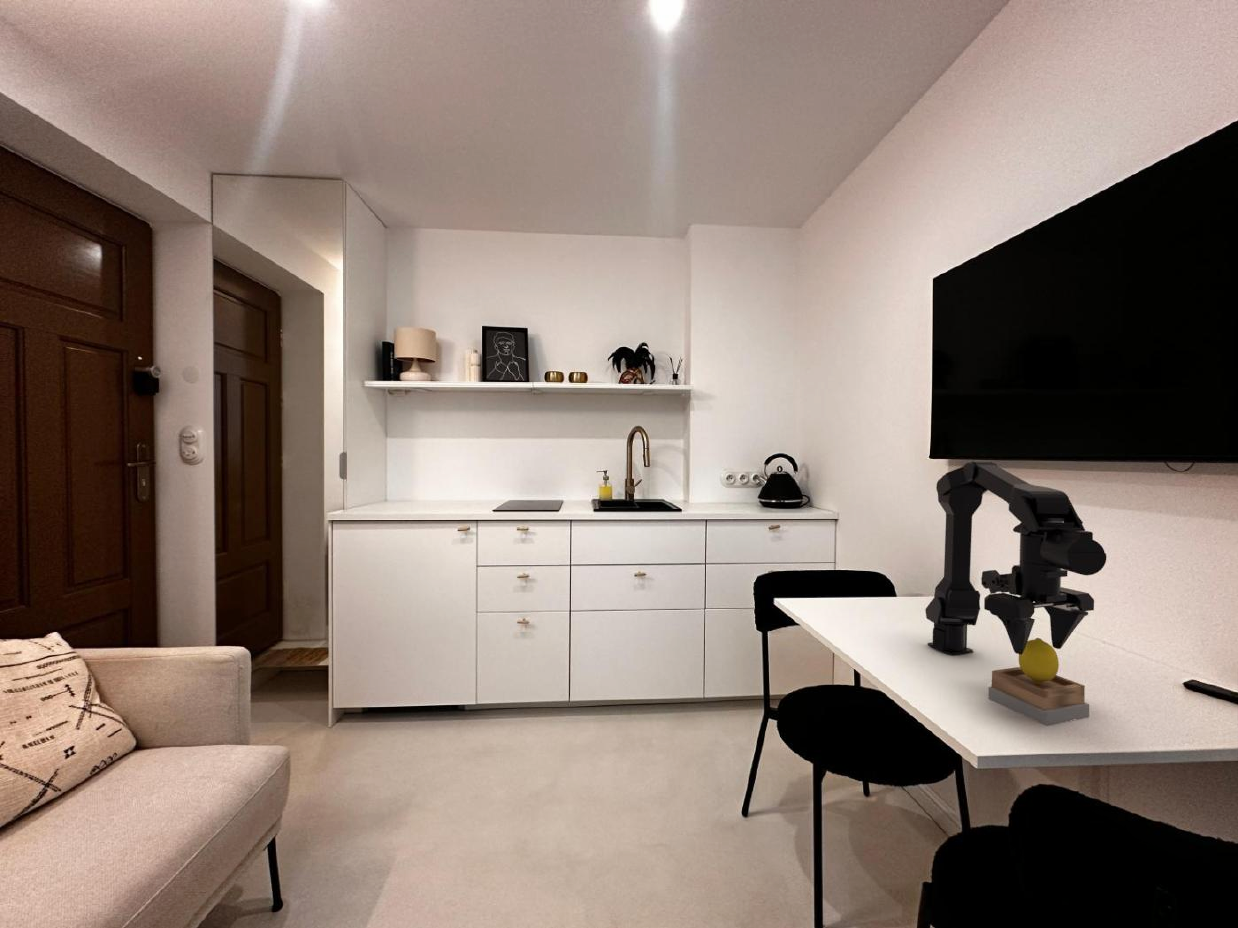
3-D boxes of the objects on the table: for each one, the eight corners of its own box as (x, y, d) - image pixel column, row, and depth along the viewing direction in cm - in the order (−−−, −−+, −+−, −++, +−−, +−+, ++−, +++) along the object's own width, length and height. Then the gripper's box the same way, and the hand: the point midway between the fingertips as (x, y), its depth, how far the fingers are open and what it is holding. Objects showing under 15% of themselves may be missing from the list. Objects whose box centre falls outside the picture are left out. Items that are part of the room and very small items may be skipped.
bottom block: (1028, 696, 101) (1028, 680, 100) (1088, 721, 91) (1089, 704, 91) (988, 703, 98) (988, 687, 97) (1046, 730, 88) (1047, 712, 88)
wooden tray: (1029, 681, 100) (1029, 665, 100) (1084, 703, 91) (1084, 685, 91) (991, 687, 98) (991, 670, 98) (1044, 710, 89) (1044, 692, 89)
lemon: (1048, 680, 96) (1049, 635, 96) (1064, 692, 91) (1065, 644, 91) (1012, 675, 98) (1013, 631, 98) (1026, 687, 92) (1027, 641, 92)
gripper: (1031, 551, 104) (1029, 631, 104) (957, 556, 99) (955, 640, 99) (1097, 562, 93) (1094, 651, 94) (1018, 569, 88) (1016, 663, 88)
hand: (1037, 650), depth 94 cm, fingers open, 9 cm apart
